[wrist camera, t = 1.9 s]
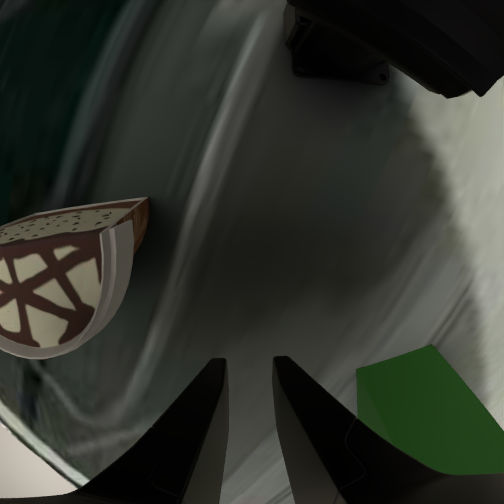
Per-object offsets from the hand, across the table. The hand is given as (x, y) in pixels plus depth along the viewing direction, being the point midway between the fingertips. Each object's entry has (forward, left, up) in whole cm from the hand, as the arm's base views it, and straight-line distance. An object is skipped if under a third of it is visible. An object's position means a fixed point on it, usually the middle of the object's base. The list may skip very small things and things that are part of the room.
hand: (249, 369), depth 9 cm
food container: (+11, 0, -13) cm, 17 cm away
